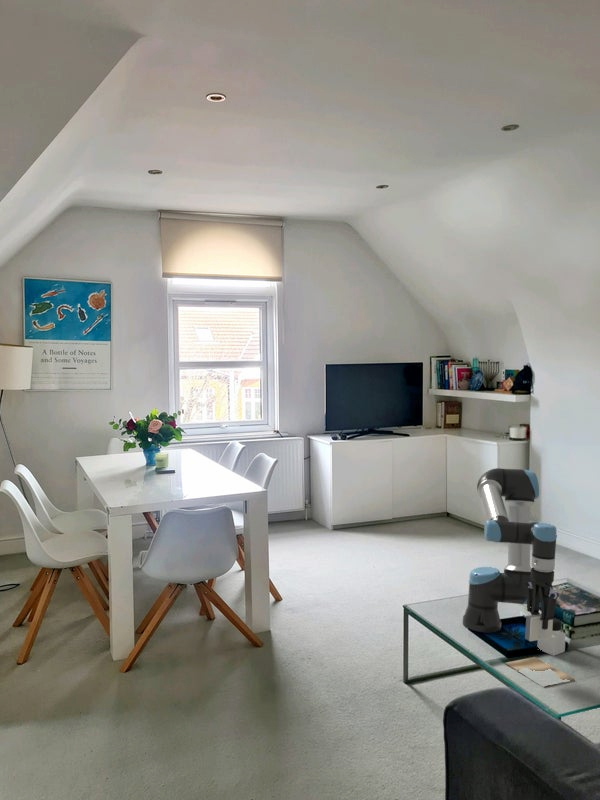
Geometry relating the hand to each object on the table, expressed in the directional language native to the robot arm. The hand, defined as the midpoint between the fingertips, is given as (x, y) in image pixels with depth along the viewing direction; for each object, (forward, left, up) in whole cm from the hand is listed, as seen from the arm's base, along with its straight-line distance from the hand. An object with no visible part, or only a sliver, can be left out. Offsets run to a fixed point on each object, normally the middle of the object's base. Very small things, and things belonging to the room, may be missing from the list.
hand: (538, 635), depth 225 cm
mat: (+1, 0, -13) cm, 13 cm away
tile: (0, 0, -1) cm, 1 cm away
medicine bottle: (-11, +18, -13) cm, 25 cm away
